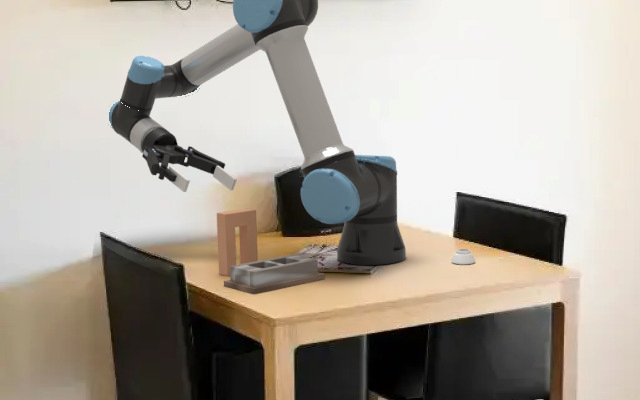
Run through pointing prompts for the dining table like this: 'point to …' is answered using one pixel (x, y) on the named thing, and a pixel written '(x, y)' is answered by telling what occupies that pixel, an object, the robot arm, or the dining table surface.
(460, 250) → the grey bowl
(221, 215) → the tan arch block
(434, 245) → the dining table surface
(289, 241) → the dining table surface
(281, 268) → the grey socket block
